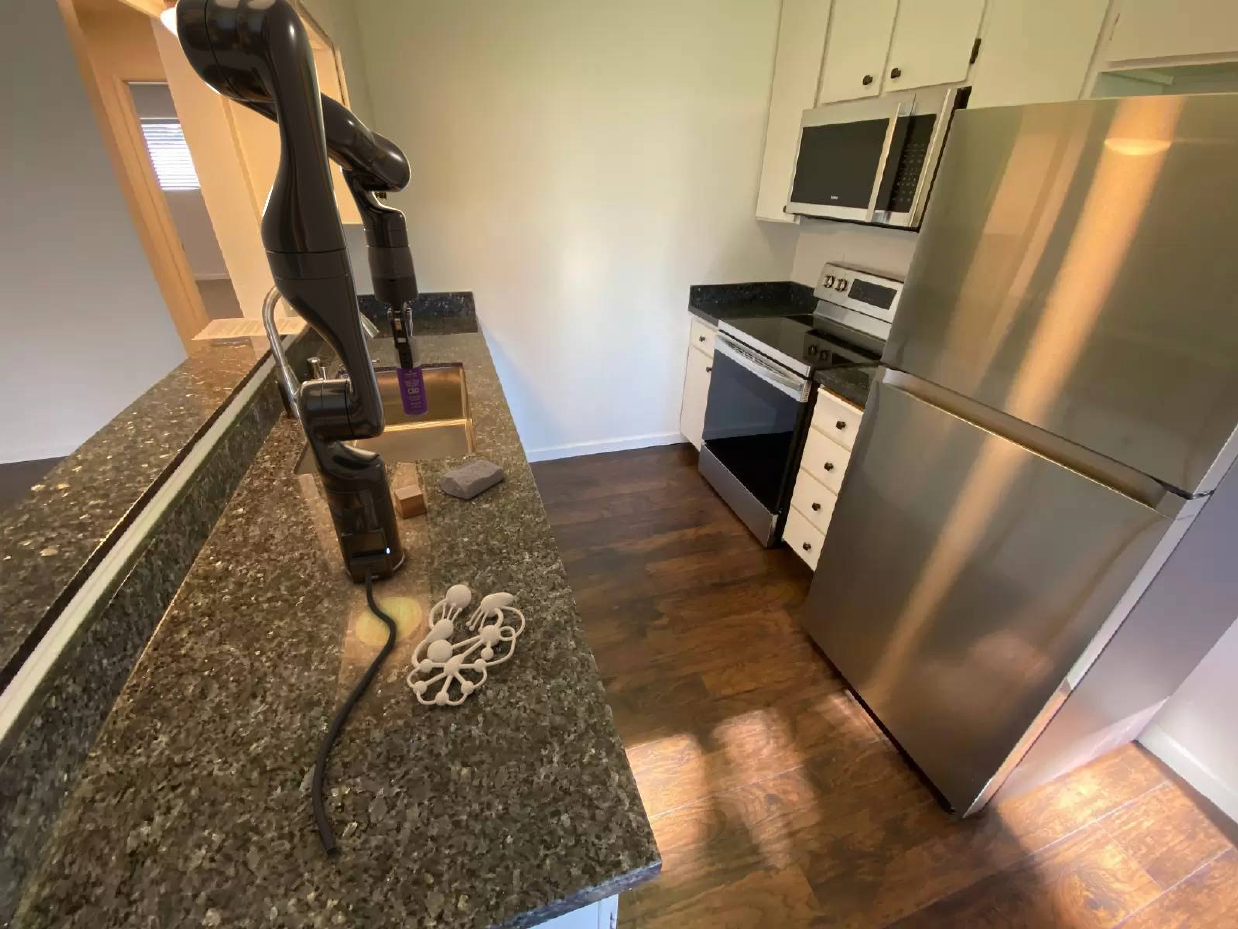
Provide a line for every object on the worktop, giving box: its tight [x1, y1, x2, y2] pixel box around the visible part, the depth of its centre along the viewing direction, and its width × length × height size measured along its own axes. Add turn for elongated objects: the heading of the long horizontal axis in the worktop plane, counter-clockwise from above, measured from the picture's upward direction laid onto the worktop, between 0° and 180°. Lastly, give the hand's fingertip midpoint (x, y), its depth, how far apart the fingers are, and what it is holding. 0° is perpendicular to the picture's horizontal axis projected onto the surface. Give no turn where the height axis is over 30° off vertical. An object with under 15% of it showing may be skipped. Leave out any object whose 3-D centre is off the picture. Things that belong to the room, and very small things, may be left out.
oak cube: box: [392, 483, 427, 520], centre depth 104 cm, size 4×4×4 cm
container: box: [391, 337, 429, 418], centre depth 103 cm, size 5×5×15 cm
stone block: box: [439, 459, 505, 501], centre depth 114 cm, size 12×5×10 cm
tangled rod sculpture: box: [406, 583, 526, 707], centre depth 73 cm, size 19×14×4 cm
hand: (408, 363), depth 102 cm, fingers closed on container, 4 cm apart
